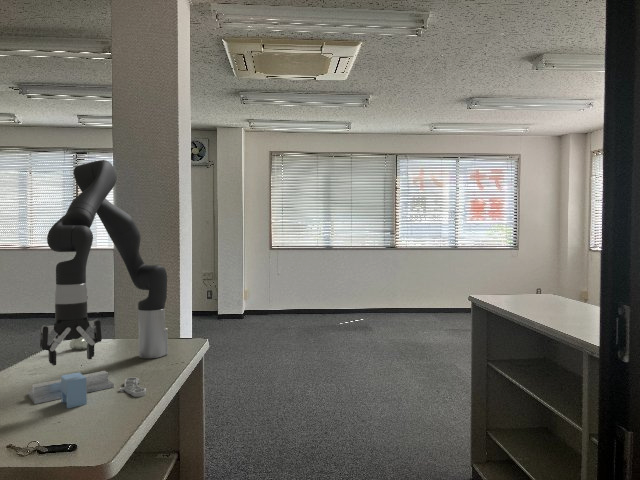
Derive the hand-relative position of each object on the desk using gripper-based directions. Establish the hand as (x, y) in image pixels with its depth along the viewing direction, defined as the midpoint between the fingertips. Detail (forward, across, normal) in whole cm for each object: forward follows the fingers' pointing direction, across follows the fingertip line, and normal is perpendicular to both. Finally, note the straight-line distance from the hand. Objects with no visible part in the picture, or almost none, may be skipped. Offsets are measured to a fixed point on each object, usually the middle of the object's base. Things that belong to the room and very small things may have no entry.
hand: (71, 361), depth 123 cm
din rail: (+11, -2, -11) cm, 16 cm away
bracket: (+12, -16, 0) cm, 20 cm away
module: (+11, 0, 0) cm, 11 cm away
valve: (+11, -17, -62) cm, 65 cm away
